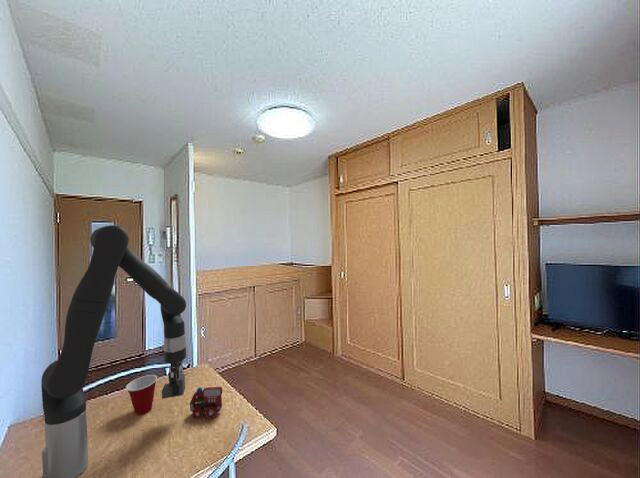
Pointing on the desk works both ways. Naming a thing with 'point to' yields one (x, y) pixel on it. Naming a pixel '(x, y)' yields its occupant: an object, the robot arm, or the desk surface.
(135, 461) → the desk surface
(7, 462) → the desk surface
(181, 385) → the grey stepped block
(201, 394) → the toy fire truck
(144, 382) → the plastic cup
